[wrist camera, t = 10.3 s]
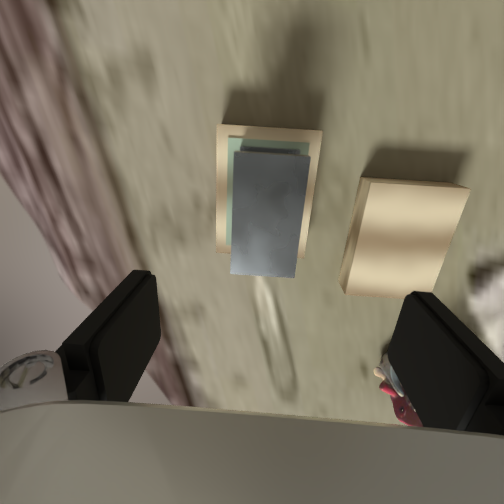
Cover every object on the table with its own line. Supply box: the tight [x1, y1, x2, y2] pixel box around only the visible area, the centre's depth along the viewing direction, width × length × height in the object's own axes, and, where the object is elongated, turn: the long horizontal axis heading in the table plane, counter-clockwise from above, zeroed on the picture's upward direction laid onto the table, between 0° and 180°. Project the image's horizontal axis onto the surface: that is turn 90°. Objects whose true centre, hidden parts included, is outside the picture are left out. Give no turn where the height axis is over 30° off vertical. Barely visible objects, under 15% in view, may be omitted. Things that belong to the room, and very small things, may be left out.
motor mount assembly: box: [374, 352, 424, 427], centre depth 34 cm, size 11×11×12 cm
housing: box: [230, 146, 311, 278], centre depth 23 cm, size 9×5×7 cm, turn 177°
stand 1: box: [216, 124, 323, 258], centre depth 27 cm, size 12×9×3 cm
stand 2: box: [338, 177, 471, 299], centre depth 29 cm, size 12×9×3 cm
